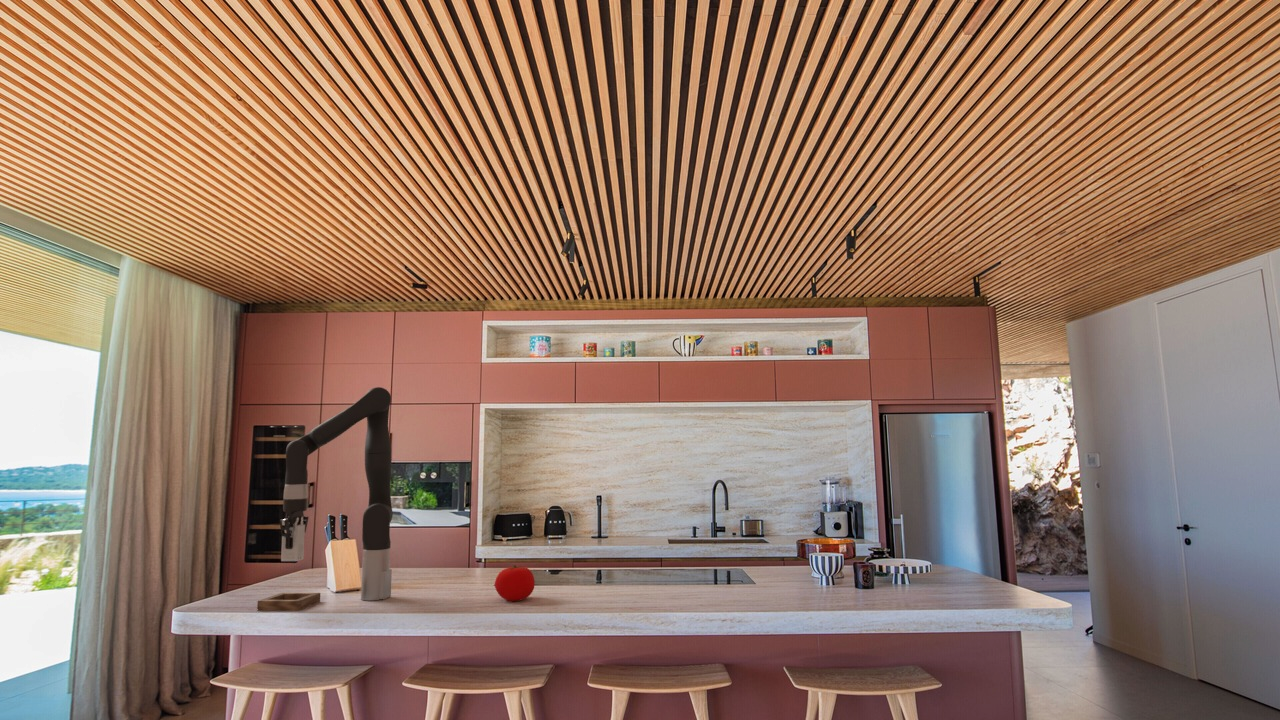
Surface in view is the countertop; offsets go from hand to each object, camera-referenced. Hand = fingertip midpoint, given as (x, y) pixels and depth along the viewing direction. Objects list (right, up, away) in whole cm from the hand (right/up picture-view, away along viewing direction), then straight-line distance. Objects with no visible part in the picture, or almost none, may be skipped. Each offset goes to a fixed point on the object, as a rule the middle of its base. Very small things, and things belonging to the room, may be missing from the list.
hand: (293, 547), depth 243 cm
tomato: (+76, -19, +3) cm, 79 cm away
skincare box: (0, -5, -1) cm, 4 cm away
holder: (+1, -19, -4) cm, 19 cm away
